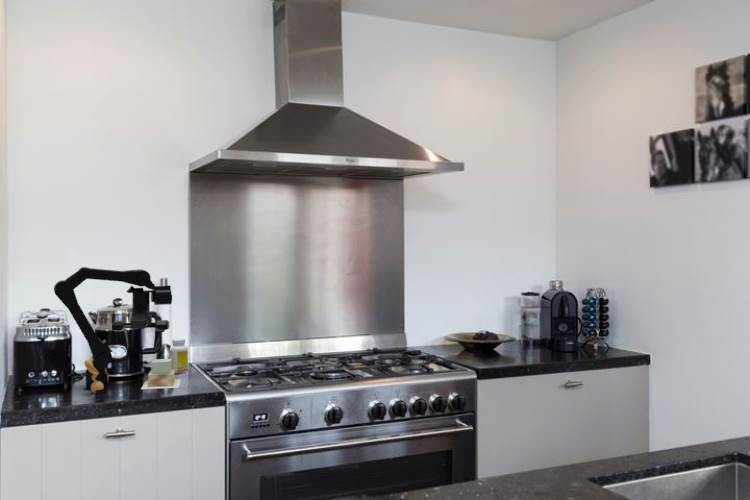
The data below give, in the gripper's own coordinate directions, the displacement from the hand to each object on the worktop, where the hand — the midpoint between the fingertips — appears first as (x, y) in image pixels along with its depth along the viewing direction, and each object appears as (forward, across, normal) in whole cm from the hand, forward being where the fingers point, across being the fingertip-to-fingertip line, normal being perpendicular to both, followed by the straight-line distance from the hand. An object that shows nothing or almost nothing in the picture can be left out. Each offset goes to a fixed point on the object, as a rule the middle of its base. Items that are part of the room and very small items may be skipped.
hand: (140, 349), depth 252 cm
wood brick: (+10, +8, -9) cm, 16 cm away
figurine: (+12, -13, -14) cm, 22 cm away
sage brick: (+6, +8, -9) cm, 14 cm away
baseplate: (+12, +8, -9) cm, 17 cm away
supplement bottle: (+12, +11, +17) cm, 24 cm away
